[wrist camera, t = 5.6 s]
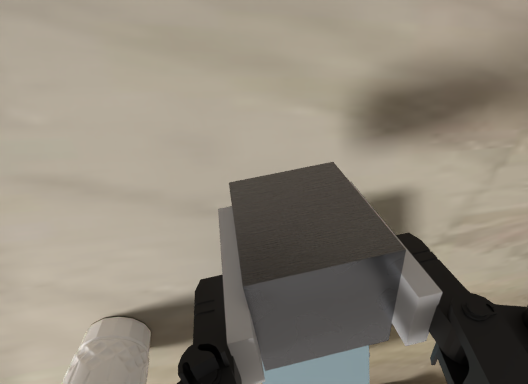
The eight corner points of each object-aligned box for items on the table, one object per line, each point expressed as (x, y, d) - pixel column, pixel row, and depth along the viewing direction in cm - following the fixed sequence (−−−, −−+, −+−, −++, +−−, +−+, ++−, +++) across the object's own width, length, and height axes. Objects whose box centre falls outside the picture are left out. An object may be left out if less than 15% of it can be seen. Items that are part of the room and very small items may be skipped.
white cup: (148, 307, 31) (124, 418, 22) (163, 349, 35) (147, 456, 26) (69, 318, 30) (12, 438, 21) (93, 360, 34) (54, 474, 25)
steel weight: (228, 182, 13) (242, 286, 8) (333, 162, 14) (406, 249, 9) (246, 258, 16) (265, 371, 11) (332, 239, 16) (388, 340, 11)
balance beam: (229, 262, 23) (230, 280, 21) (361, 235, 24) (374, 249, 22) (274, 444, 33) (277, 466, 32) (365, 421, 34) (374, 442, 32)
